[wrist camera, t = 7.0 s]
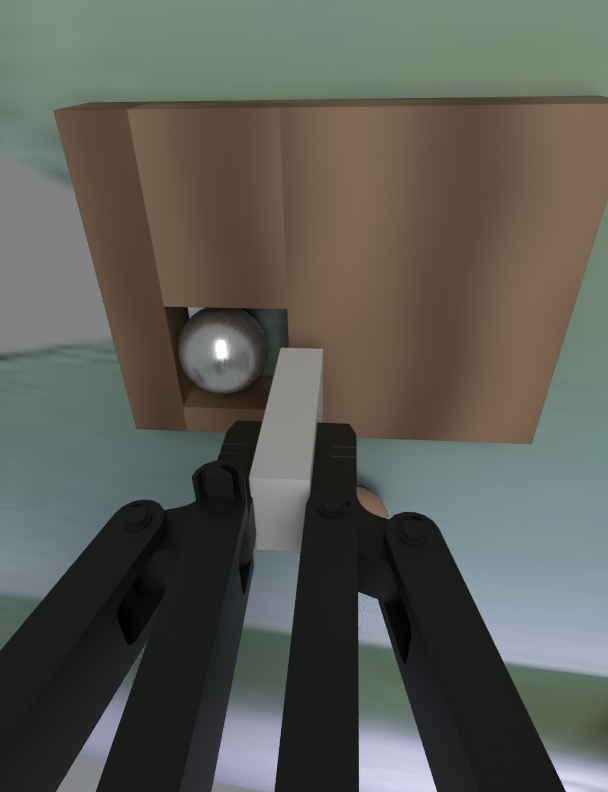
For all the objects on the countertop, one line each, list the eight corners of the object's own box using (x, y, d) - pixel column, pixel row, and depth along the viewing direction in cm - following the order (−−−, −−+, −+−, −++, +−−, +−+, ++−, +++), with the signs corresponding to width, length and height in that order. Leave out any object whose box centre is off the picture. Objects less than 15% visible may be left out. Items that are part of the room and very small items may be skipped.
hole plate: (155, 396, 24) (136, 428, 22) (89, 102, 17) (53, 110, 15) (515, 408, 23) (531, 444, 21) (600, 96, 16) (636, 103, 14)
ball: (319, 517, 28) (315, 571, 25) (319, 469, 26) (315, 523, 23) (384, 520, 27) (387, 576, 25) (389, 472, 25) (393, 527, 23)
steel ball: (168, 399, 20) (243, 419, 19) (150, 321, 18) (232, 338, 17) (216, 357, 23) (285, 373, 22) (204, 285, 21) (280, 297, 20)
